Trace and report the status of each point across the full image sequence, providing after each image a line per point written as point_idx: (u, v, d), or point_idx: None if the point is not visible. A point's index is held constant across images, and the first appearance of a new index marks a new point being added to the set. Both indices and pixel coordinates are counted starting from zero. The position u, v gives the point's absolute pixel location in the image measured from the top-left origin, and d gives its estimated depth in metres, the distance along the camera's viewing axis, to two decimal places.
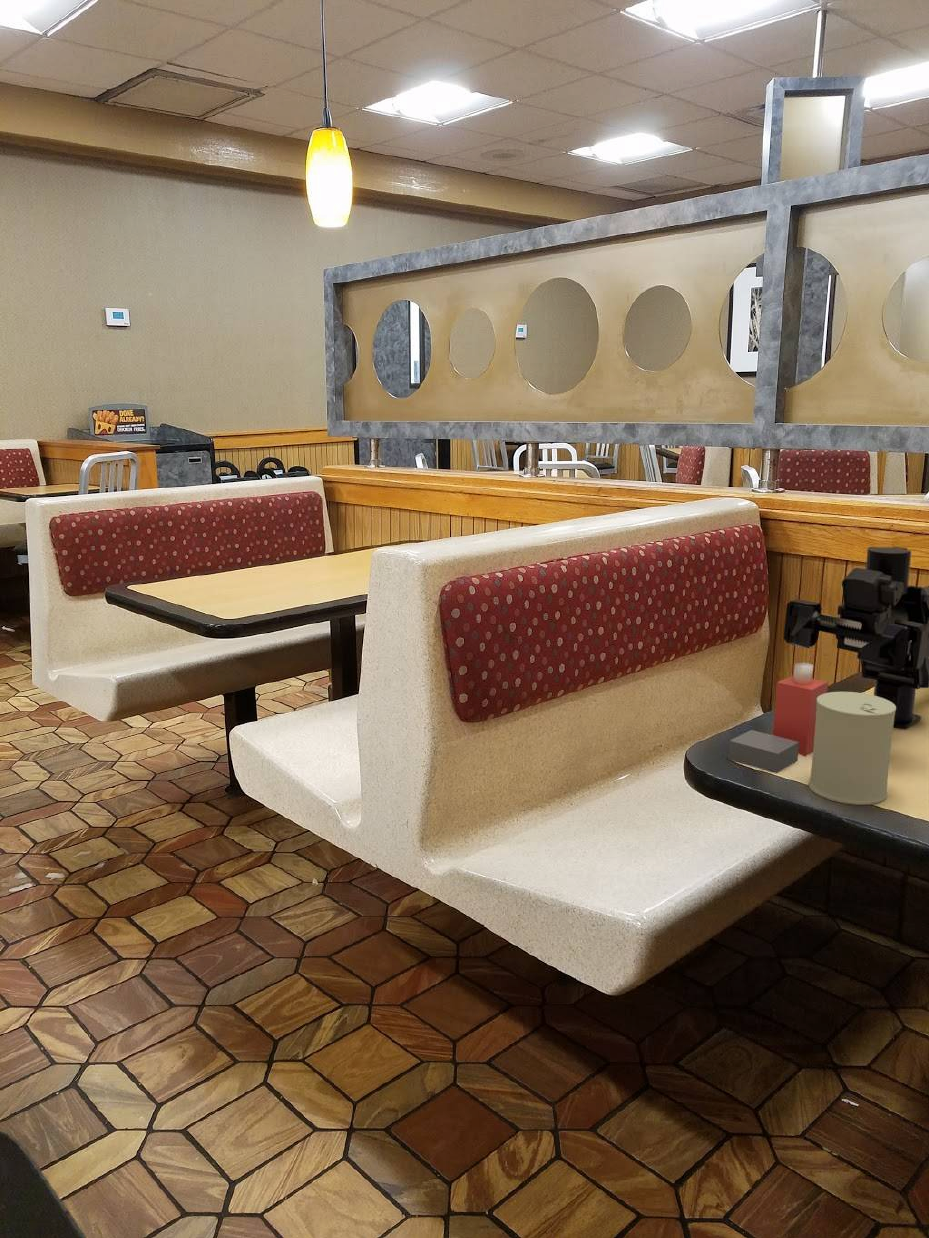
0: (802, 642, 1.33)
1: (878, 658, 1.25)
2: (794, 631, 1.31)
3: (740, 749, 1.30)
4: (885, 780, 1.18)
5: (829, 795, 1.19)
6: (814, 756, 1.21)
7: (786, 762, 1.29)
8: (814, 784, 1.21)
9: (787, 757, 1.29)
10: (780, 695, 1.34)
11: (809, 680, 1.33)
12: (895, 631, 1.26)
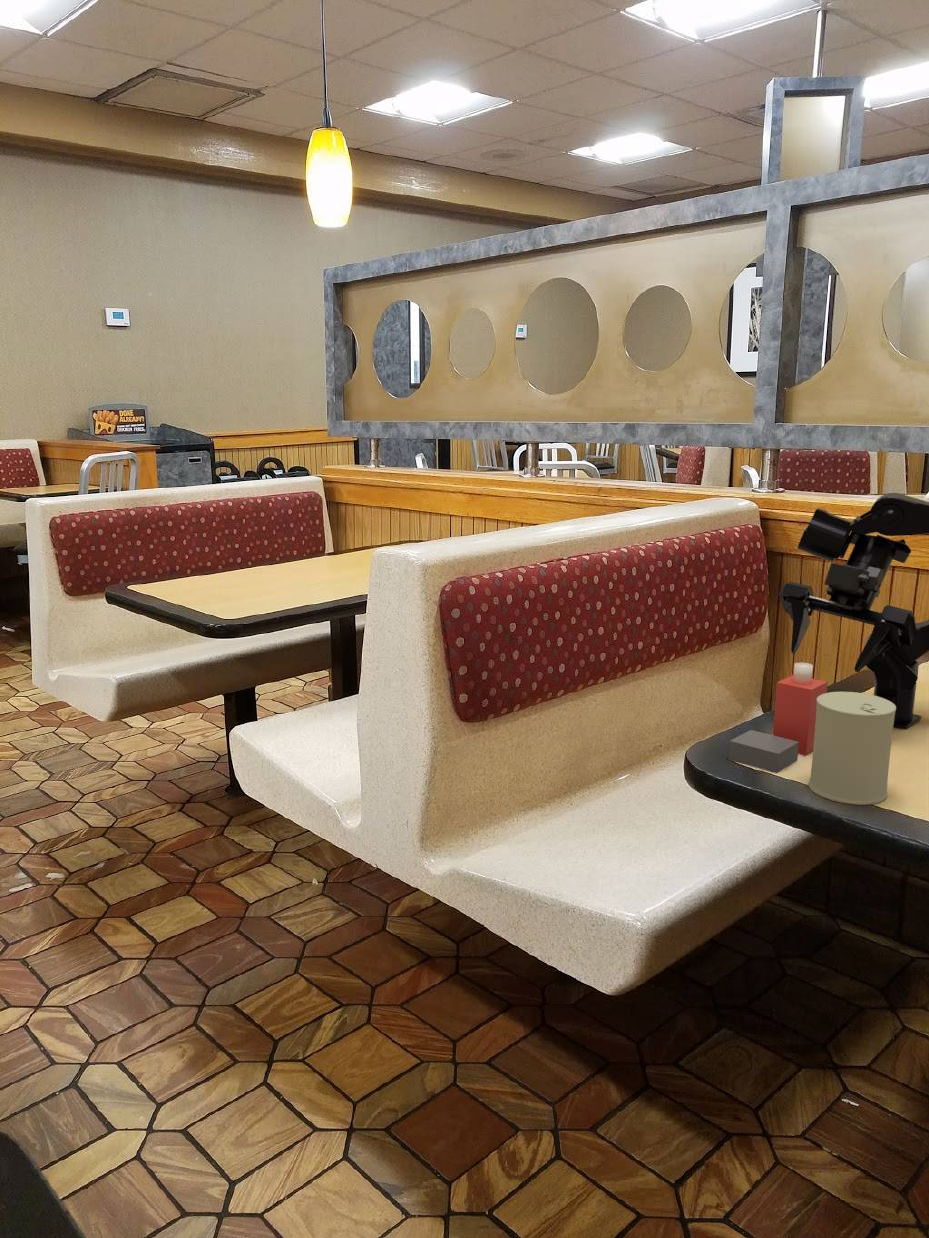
0: (802, 636, 1.44)
1: (873, 655, 1.37)
2: (793, 642, 1.42)
3: (740, 749, 1.30)
4: (885, 780, 1.18)
5: (829, 795, 1.19)
6: (814, 756, 1.21)
7: (786, 762, 1.29)
8: (814, 784, 1.21)
9: (787, 757, 1.29)
10: (780, 695, 1.34)
11: (809, 680, 1.33)
12: (884, 630, 1.35)
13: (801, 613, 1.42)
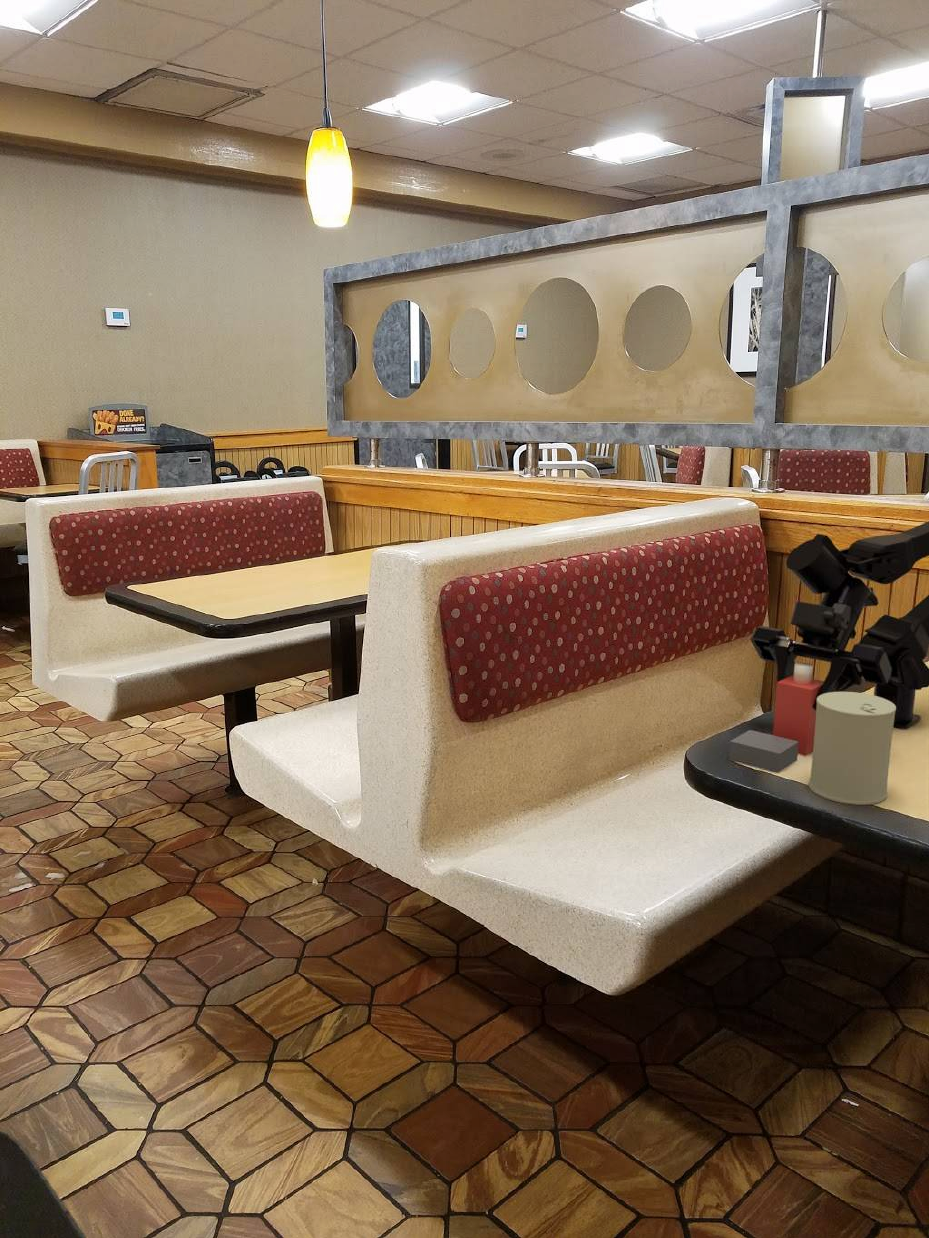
0: None
1: None
2: None
3: (740, 750, 1.30)
4: (885, 780, 1.18)
5: (829, 795, 1.19)
6: (814, 756, 1.21)
7: (787, 762, 1.29)
8: (814, 784, 1.21)
9: (787, 757, 1.29)
10: (780, 695, 1.34)
11: (809, 680, 1.33)
12: (841, 665, 1.31)
13: (785, 659, 1.37)
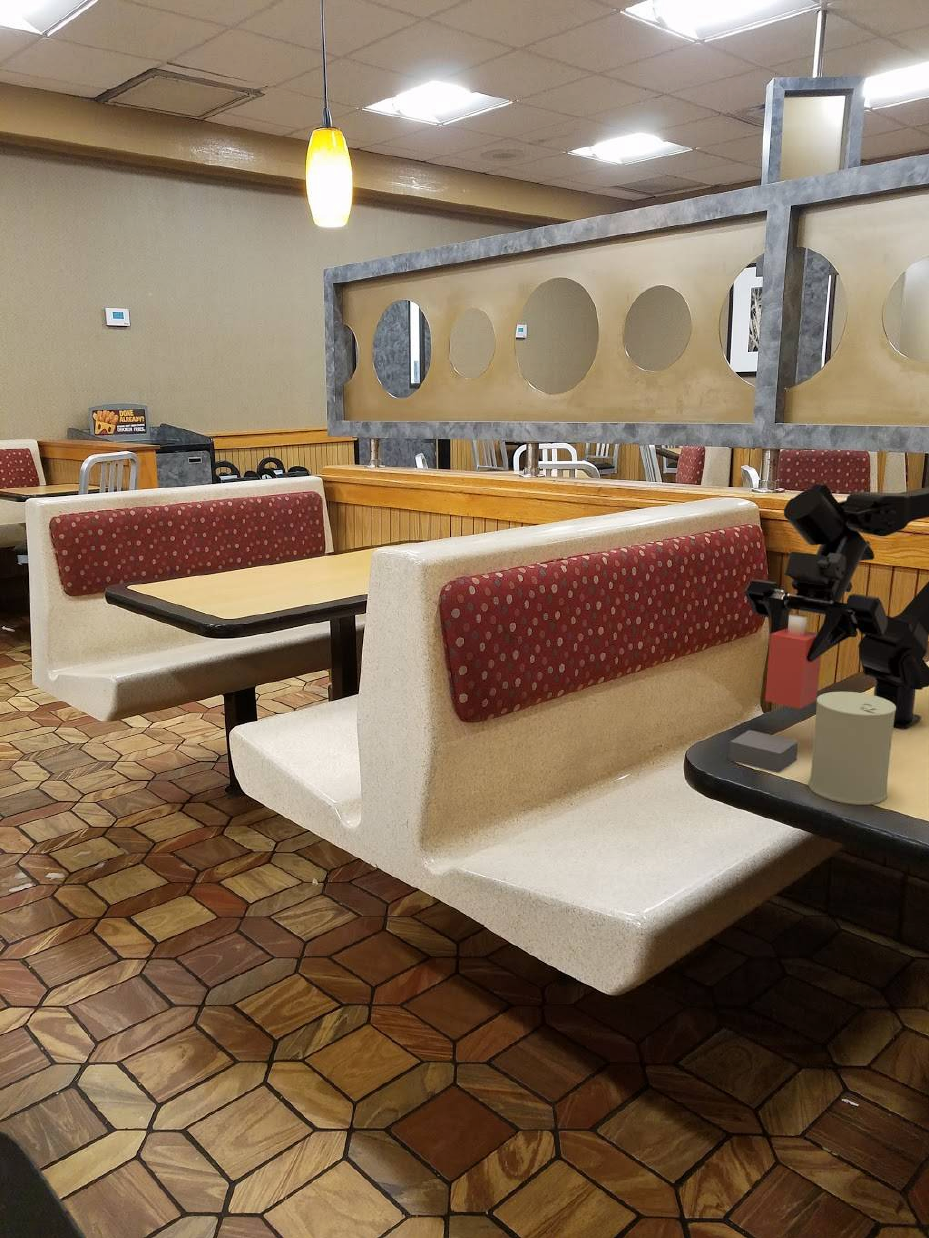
0: None
1: (828, 645, 1.30)
2: None
3: (741, 750, 1.30)
4: (885, 780, 1.18)
5: (829, 795, 1.19)
6: (814, 756, 1.21)
7: (787, 762, 1.29)
8: (814, 784, 1.21)
9: (787, 756, 1.29)
10: (774, 647, 1.31)
11: (803, 631, 1.30)
12: (835, 616, 1.29)
13: (779, 611, 1.34)
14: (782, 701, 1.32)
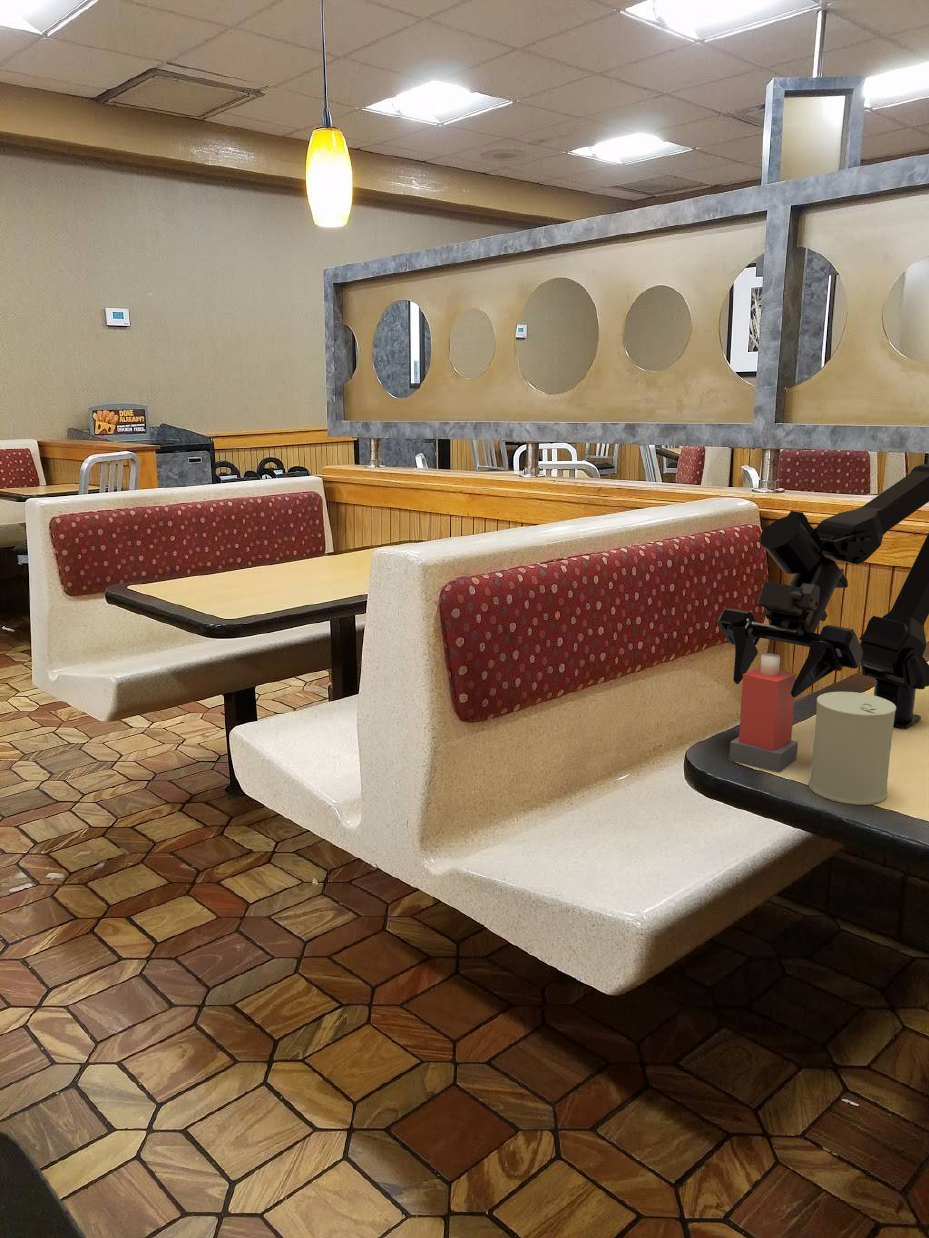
0: (748, 665, 1.33)
1: (813, 679, 1.26)
2: (735, 671, 1.31)
3: (741, 750, 1.30)
4: (885, 780, 1.18)
5: (829, 795, 1.19)
6: (814, 756, 1.21)
7: (787, 762, 1.29)
8: (814, 784, 1.21)
9: (788, 757, 1.29)
10: (746, 687, 1.29)
11: (776, 672, 1.28)
12: (820, 650, 1.25)
13: (743, 640, 1.32)
14: (755, 742, 1.29)
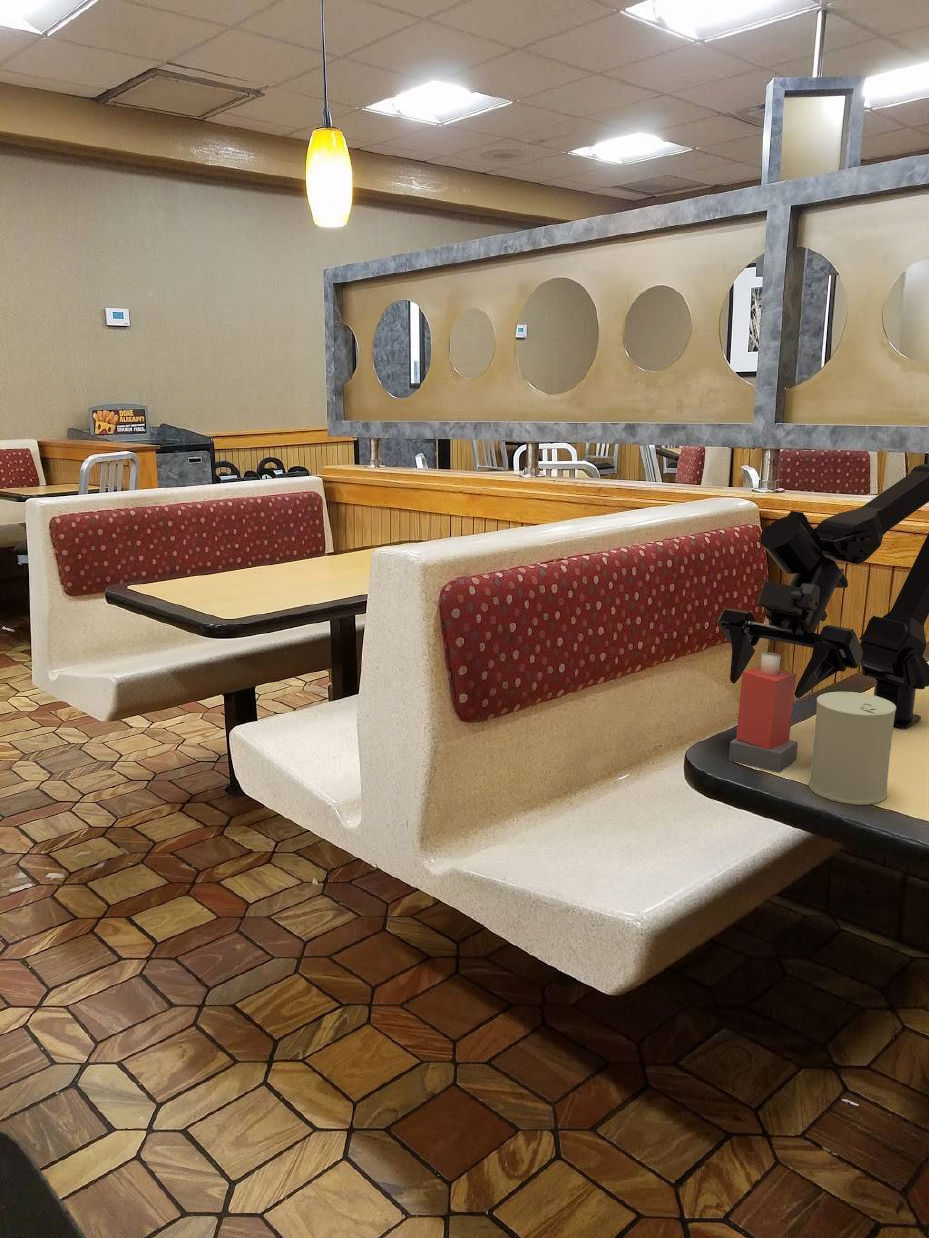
0: (744, 665, 1.33)
1: (817, 680, 1.26)
2: (732, 670, 1.31)
3: (741, 750, 1.30)
4: (885, 780, 1.18)
5: (829, 795, 1.19)
6: (814, 756, 1.21)
7: (787, 762, 1.29)
8: (814, 784, 1.21)
9: (787, 756, 1.29)
10: (745, 685, 1.29)
11: (775, 671, 1.28)
12: (823, 650, 1.24)
13: (740, 640, 1.32)
14: (752, 740, 1.30)
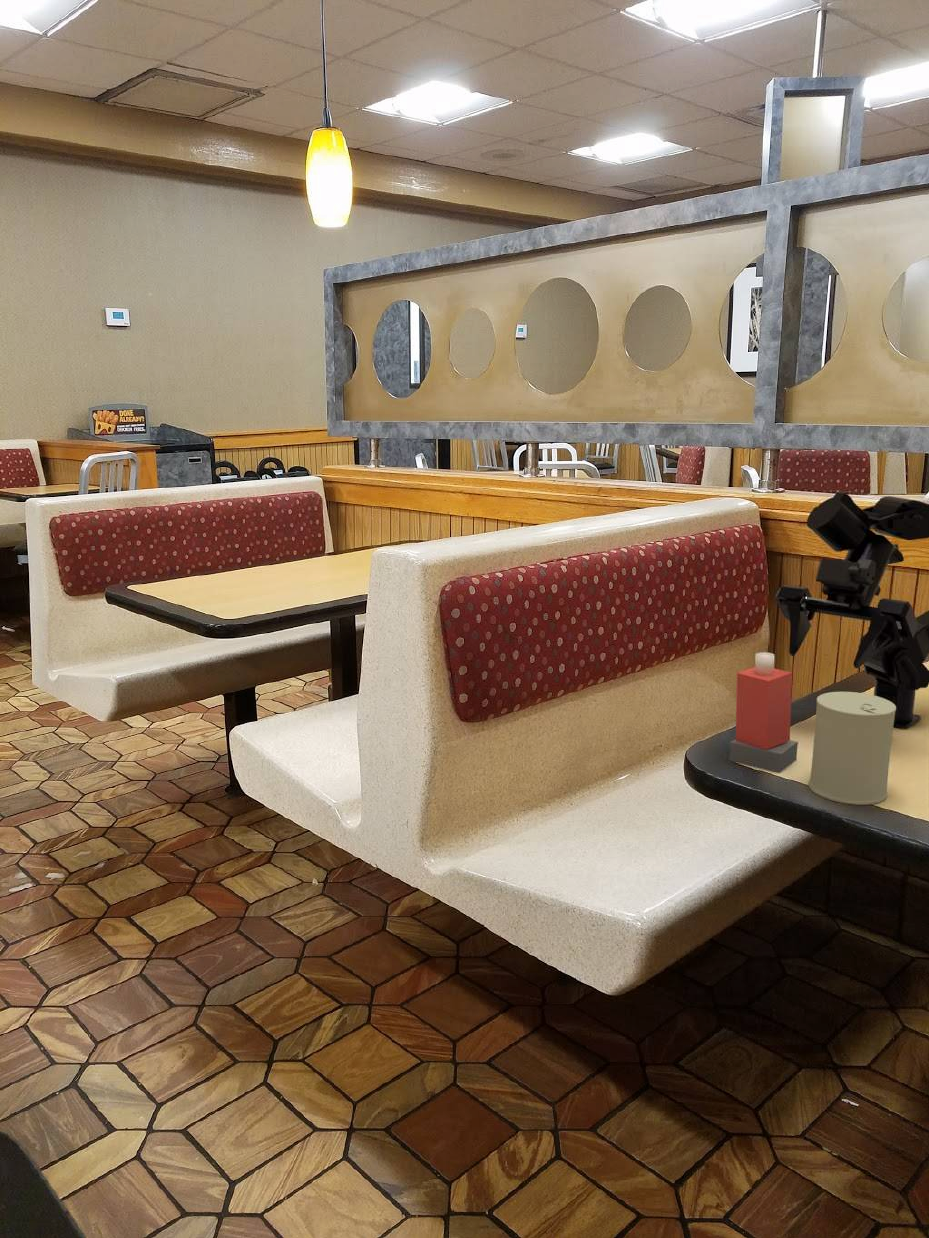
0: (802, 638, 1.40)
1: (874, 651, 1.32)
2: (791, 644, 1.38)
3: (741, 751, 1.30)
4: (885, 780, 1.18)
5: (829, 795, 1.19)
6: (814, 756, 1.21)
7: (787, 762, 1.29)
8: (814, 784, 1.21)
9: (787, 757, 1.29)
10: (740, 686, 1.29)
11: (770, 671, 1.28)
12: (881, 622, 1.31)
13: (798, 614, 1.39)
14: (751, 741, 1.30)
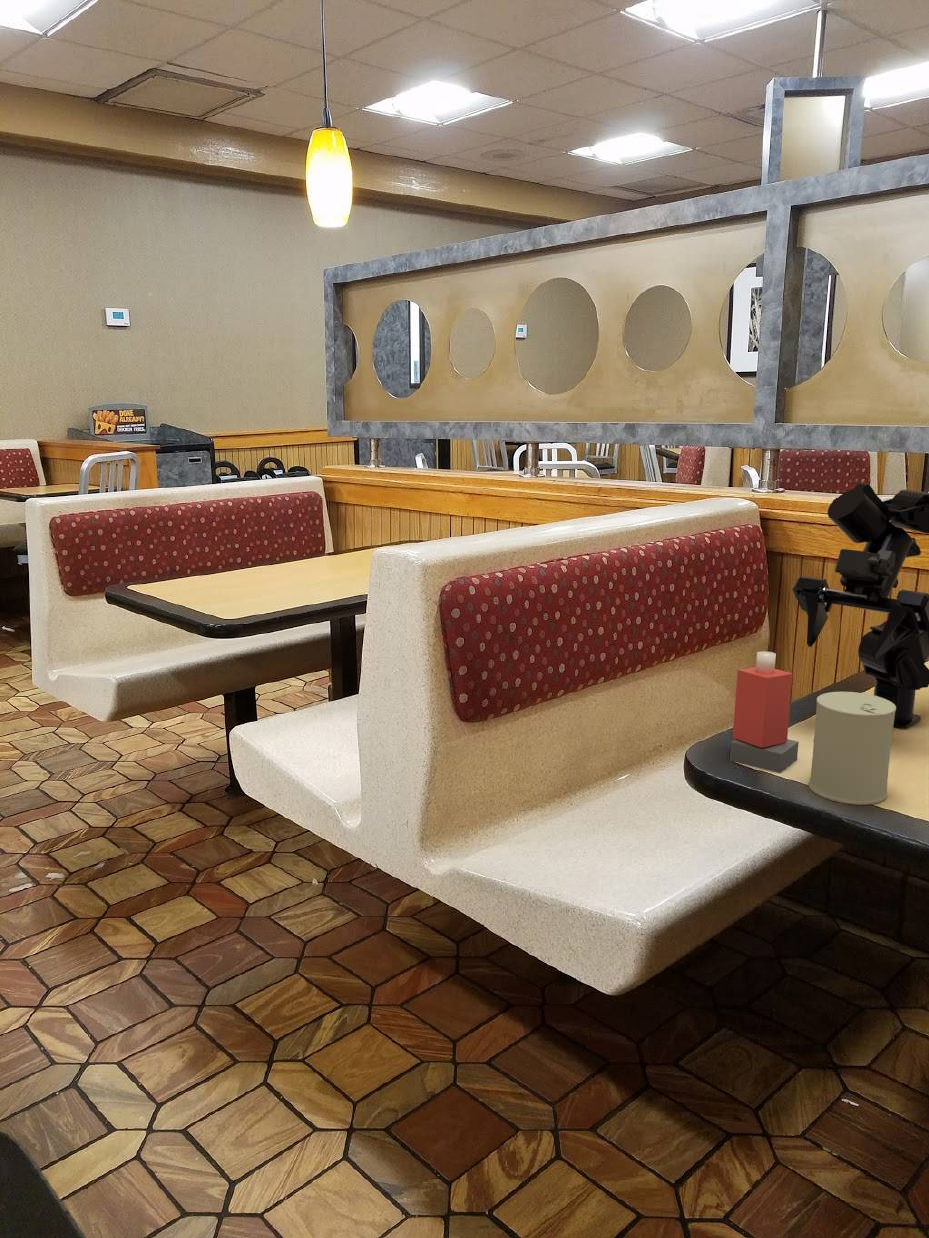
0: (819, 629, 1.40)
1: (892, 642, 1.32)
2: (808, 634, 1.38)
3: (742, 750, 1.30)
4: (885, 780, 1.18)
5: (829, 795, 1.19)
6: (814, 756, 1.21)
7: (788, 762, 1.29)
8: (814, 784, 1.21)
9: (788, 757, 1.29)
10: (740, 683, 1.30)
11: (770, 669, 1.28)
12: (900, 613, 1.31)
13: (815, 605, 1.39)
14: (747, 739, 1.30)
